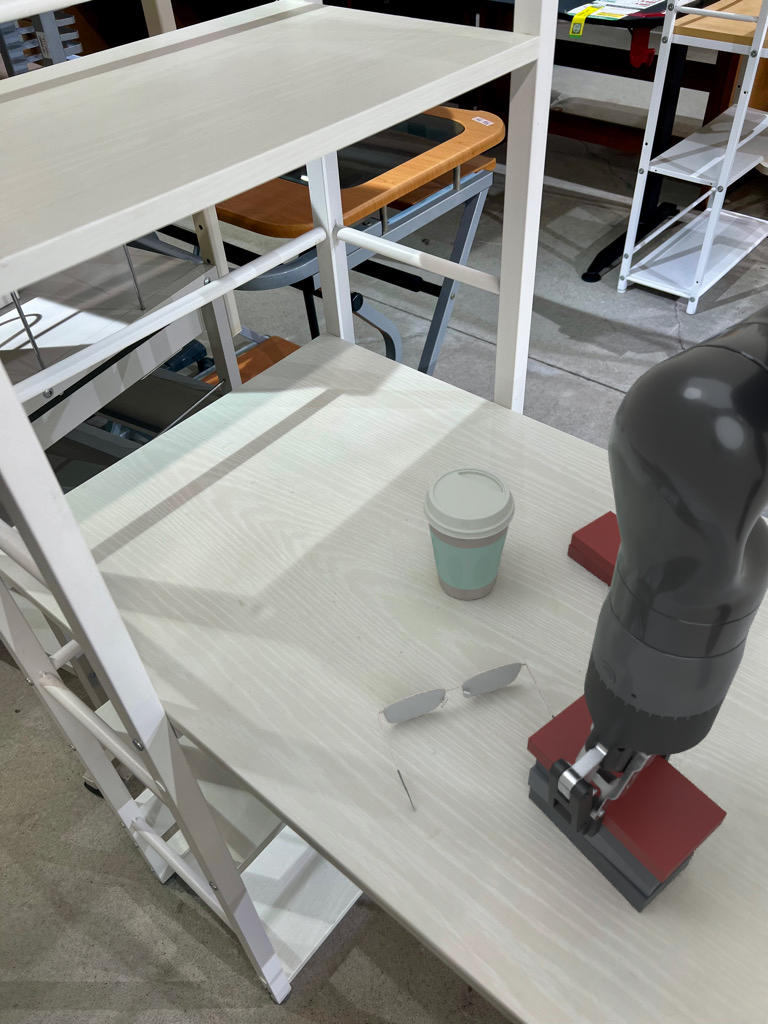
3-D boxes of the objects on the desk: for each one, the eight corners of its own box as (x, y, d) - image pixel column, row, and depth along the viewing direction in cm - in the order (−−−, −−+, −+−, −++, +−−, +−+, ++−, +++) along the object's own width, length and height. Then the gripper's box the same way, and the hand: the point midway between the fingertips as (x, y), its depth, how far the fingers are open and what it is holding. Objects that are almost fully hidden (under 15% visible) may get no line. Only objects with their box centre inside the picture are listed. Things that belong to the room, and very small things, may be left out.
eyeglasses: (523, 679, 67) (527, 655, 64) (566, 759, 62) (573, 737, 59) (377, 728, 65) (375, 706, 62) (409, 816, 59) (409, 797, 56)
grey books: (692, 864, 55) (716, 821, 50) (639, 918, 52) (658, 878, 48) (574, 752, 62) (585, 705, 57) (522, 795, 59) (529, 749, 55)
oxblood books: (697, 594, 73) (704, 572, 71) (657, 625, 71) (664, 603, 69) (603, 530, 80) (608, 508, 78) (565, 556, 78) (568, 534, 76)
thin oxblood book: (721, 823, 50) (727, 813, 49) (661, 884, 47) (666, 873, 46) (584, 702, 57) (587, 690, 56) (526, 749, 55) (528, 737, 54)
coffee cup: (523, 596, 74) (532, 508, 66) (444, 621, 73) (443, 534, 65) (487, 540, 80) (491, 453, 72) (413, 562, 79) (409, 475, 71)
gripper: (630, 780, 37) (587, 905, 48) (797, 631, 43) (723, 774, 54) (521, 680, 41) (505, 816, 53) (686, 558, 47) (639, 704, 59)
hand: (616, 794), depth 53 cm, fingers closed on thin oxblood book, 6 cm apart
